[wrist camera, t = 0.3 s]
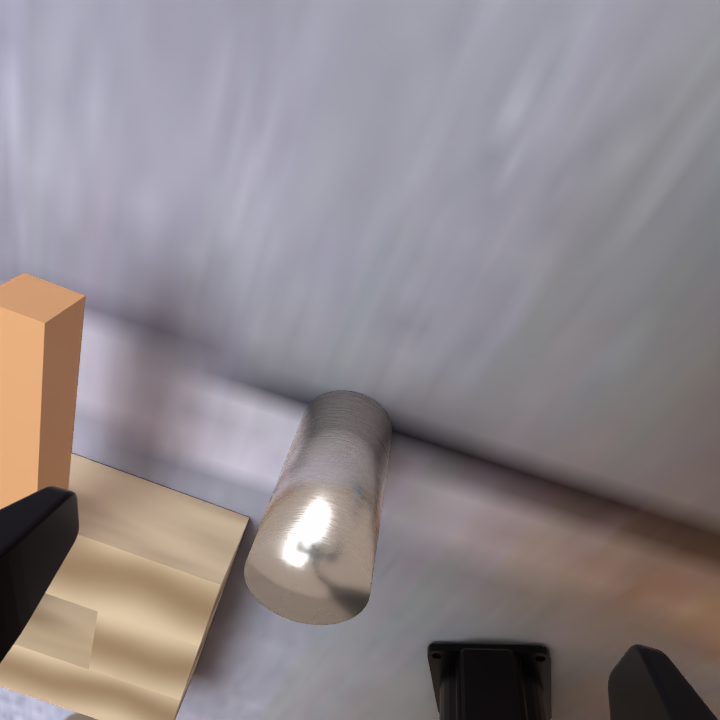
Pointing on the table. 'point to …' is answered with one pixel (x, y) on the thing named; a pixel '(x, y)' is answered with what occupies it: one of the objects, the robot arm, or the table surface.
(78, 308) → the pin
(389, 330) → the table surface
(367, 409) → the cylinder
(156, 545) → the dock
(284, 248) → the table surface
